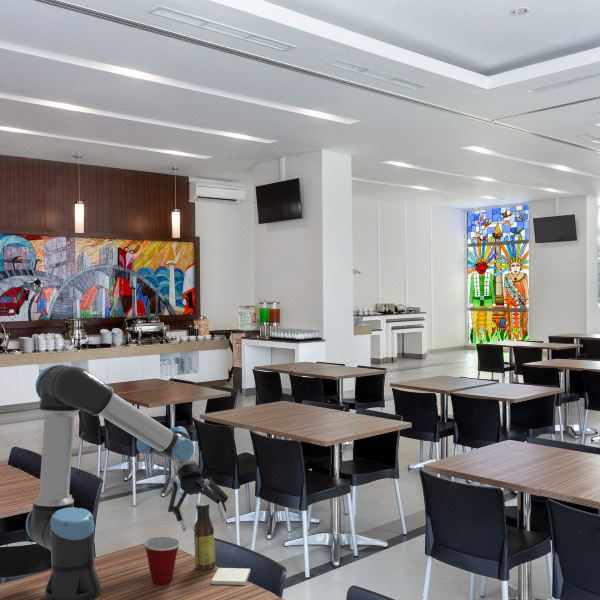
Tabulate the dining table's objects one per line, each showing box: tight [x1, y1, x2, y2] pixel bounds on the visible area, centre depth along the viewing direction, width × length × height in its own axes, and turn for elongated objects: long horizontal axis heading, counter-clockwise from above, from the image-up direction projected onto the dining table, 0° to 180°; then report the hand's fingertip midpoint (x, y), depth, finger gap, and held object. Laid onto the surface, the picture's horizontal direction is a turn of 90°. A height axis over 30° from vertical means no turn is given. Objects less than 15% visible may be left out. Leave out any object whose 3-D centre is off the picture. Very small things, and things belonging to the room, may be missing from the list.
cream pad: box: [210, 567, 251, 586], centre depth 209 cm, size 10×10×1 cm
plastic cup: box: [143, 535, 181, 586], centre depth 207 cm, size 11×11×12 cm
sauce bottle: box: [193, 501, 216, 571], centre depth 218 cm, size 7×6×20 cm
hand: (205, 525), depth 221 cm, fingers open, 13 cm apart
